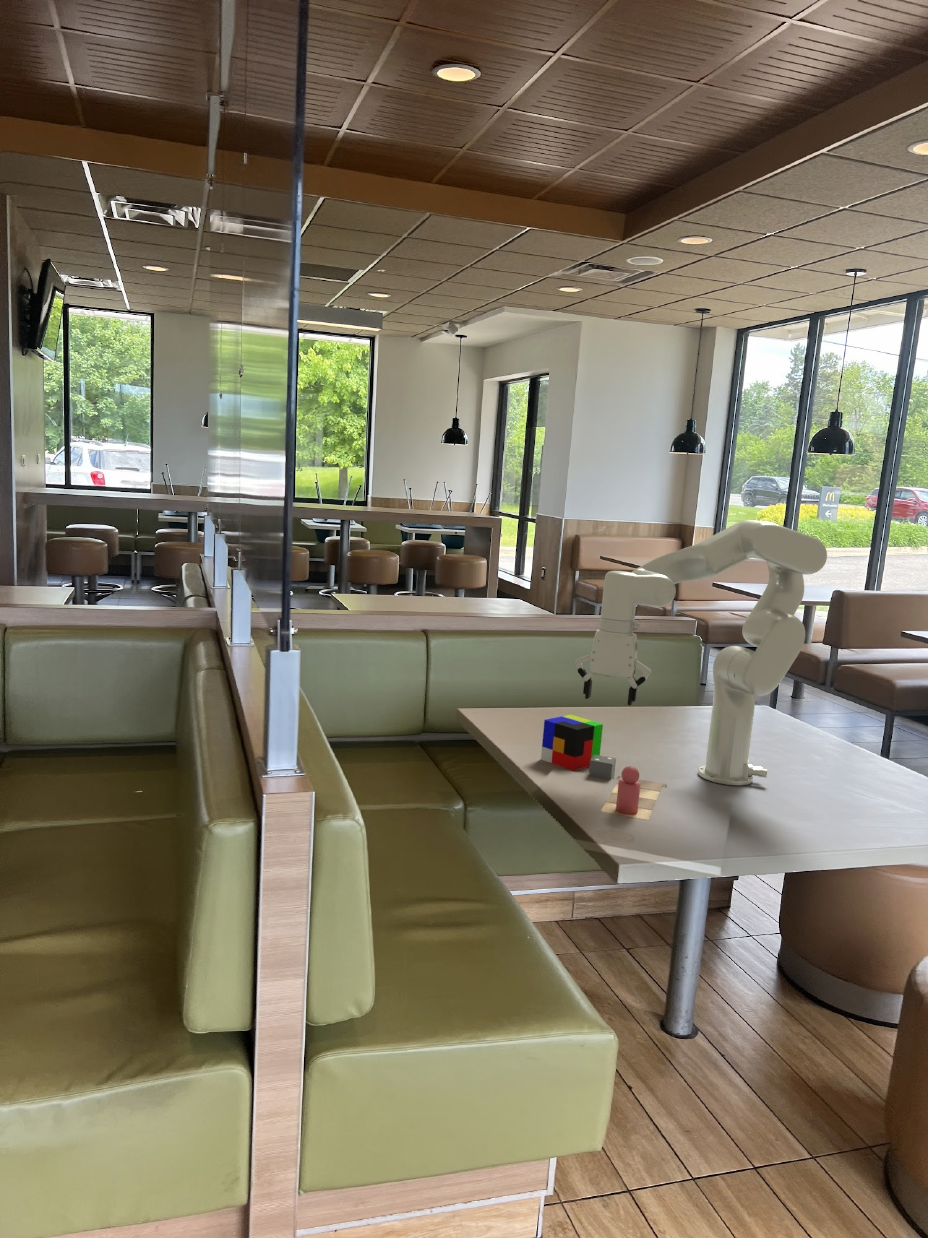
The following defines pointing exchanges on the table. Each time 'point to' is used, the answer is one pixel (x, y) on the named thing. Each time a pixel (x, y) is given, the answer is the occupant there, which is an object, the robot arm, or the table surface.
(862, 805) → the table surface
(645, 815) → the board
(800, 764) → the table surface
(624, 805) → the pawn
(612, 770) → the die
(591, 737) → the puzzle toy
